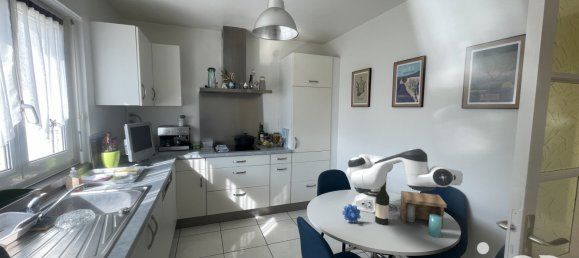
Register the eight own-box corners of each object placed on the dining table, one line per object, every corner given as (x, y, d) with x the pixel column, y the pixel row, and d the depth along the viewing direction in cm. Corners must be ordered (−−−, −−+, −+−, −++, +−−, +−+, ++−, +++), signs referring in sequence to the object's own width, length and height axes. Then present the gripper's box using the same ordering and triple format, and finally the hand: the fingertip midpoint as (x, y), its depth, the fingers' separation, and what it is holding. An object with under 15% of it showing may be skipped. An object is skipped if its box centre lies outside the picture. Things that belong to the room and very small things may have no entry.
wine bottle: (372, 218, 153) (374, 174, 151) (385, 219, 153) (387, 174, 150) (377, 225, 145) (379, 177, 142) (390, 225, 145) (393, 178, 142)
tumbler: (429, 236, 133) (431, 217, 132) (427, 231, 138) (428, 213, 137) (441, 238, 131) (443, 219, 130) (438, 233, 136) (440, 215, 135)
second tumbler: (404, 220, 151) (405, 204, 150) (403, 216, 157) (404, 200, 156) (415, 222, 149) (416, 205, 148) (413, 218, 155) (414, 202, 154)
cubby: (403, 226, 144) (404, 199, 142) (399, 215, 159) (401, 190, 158) (444, 232, 137) (446, 204, 136) (436, 220, 152) (438, 194, 151)
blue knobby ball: (344, 226, 143) (344, 207, 142) (341, 220, 150) (341, 202, 149) (362, 225, 144) (363, 207, 143) (358, 220, 150) (359, 202, 149)
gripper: (412, 178, 113) (412, 176, 125) (465, 186, 103) (459, 183, 115) (413, 165, 113) (413, 164, 125) (466, 172, 103) (460, 170, 116)
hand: (435, 173), depth 120 cm, fingers open, 8 cm apart
